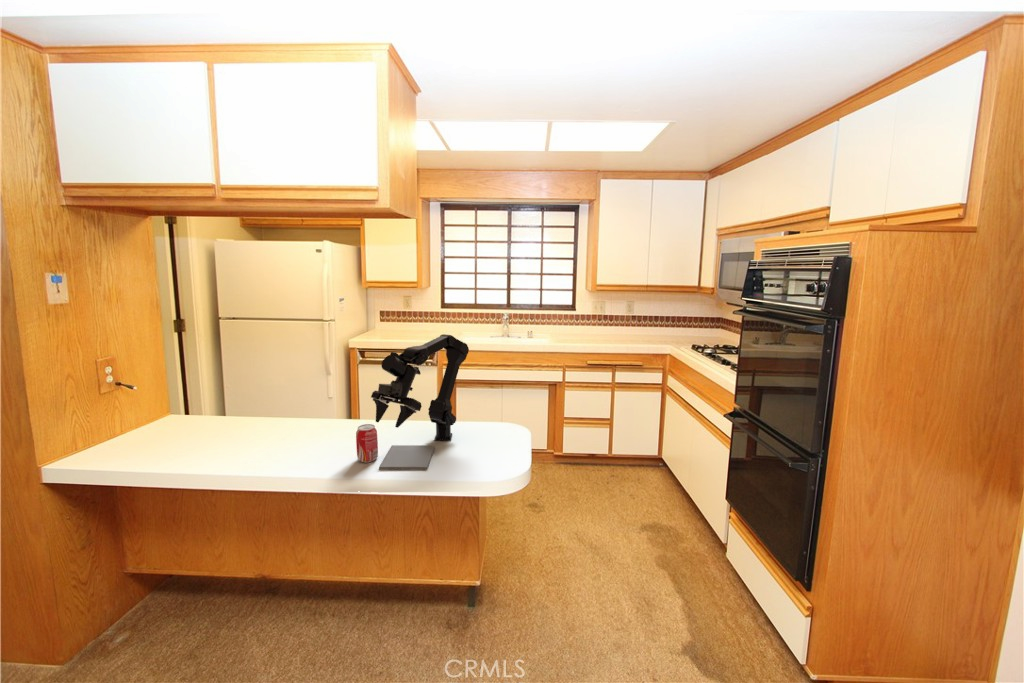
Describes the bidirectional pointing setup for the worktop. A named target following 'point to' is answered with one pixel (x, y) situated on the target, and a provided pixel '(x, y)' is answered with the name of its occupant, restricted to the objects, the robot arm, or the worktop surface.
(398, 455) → the charcoal mat
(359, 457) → the soda can
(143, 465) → the worktop surface
